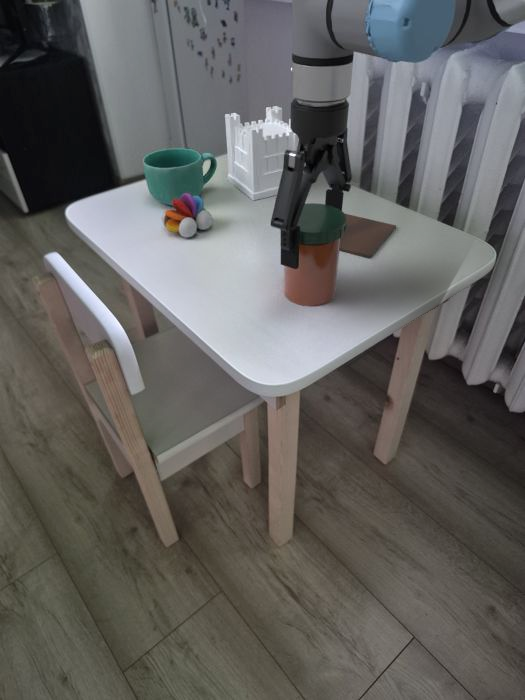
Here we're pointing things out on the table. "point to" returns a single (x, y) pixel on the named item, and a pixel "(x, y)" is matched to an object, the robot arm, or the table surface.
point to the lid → (321, 224)
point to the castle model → (258, 152)
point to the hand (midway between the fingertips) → (311, 246)
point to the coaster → (364, 236)
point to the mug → (176, 173)
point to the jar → (313, 274)
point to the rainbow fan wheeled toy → (187, 216)
